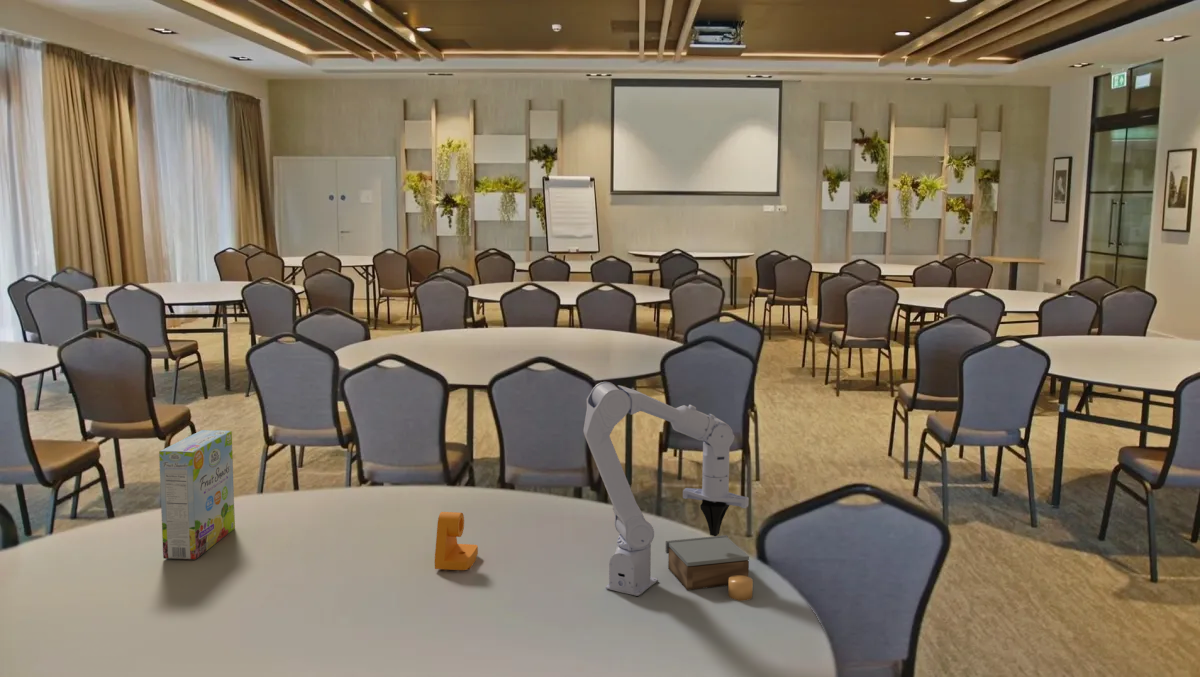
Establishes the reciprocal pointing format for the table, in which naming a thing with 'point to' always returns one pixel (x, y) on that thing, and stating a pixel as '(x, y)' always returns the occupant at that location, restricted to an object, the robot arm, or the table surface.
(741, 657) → the table surface
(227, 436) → the snack box
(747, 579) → the orange rounded block
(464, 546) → the bracket
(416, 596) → the table surface
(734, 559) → the lid
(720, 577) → the box
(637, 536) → the robot arm
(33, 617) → the table surface
